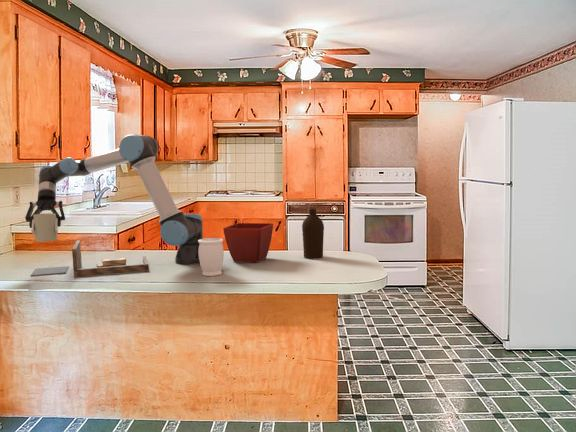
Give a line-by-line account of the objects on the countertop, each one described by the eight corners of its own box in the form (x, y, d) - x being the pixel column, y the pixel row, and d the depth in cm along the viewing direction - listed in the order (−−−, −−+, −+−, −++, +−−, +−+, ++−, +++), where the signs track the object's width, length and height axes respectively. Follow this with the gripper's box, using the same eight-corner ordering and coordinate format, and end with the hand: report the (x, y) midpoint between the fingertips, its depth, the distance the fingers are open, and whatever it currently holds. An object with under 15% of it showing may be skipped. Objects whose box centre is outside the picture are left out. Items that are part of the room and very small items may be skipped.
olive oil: (312, 260, 247) (311, 208, 244) (298, 257, 255) (297, 206, 252) (328, 257, 254) (328, 206, 251) (314, 254, 262) (313, 205, 259)
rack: (146, 260, 254) (144, 236, 253) (148, 270, 230) (147, 244, 229) (78, 265, 245) (76, 240, 243) (73, 277, 221) (72, 249, 219)
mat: (68, 267, 241) (68, 266, 241) (65, 273, 227) (65, 272, 227) (35, 270, 236) (35, 268, 236) (30, 276, 223) (30, 275, 223)
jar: (199, 277, 215) (198, 242, 213) (198, 272, 225) (197, 238, 223) (225, 276, 217) (224, 240, 215) (223, 270, 227) (222, 237, 225)
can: (34, 242, 225) (32, 215, 223) (35, 239, 233) (33, 212, 232) (57, 240, 228) (55, 213, 227) (57, 237, 237) (56, 211, 235)
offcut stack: (130, 268, 237) (129, 257, 236) (131, 270, 232) (131, 259, 232) (95, 272, 231) (94, 260, 231) (96, 274, 226) (95, 262, 226)
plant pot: (223, 263, 244) (222, 227, 242) (239, 255, 262) (238, 222, 260) (261, 264, 239) (260, 228, 237) (274, 257, 257) (273, 223, 255)
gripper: (72, 198, 246) (72, 236, 233) (22, 199, 240) (19, 239, 227) (71, 187, 241) (70, 225, 227) (19, 189, 234) (15, 228, 221)
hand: (44, 232), depth 227 cm, fingers closed on can, 9 cm apart
